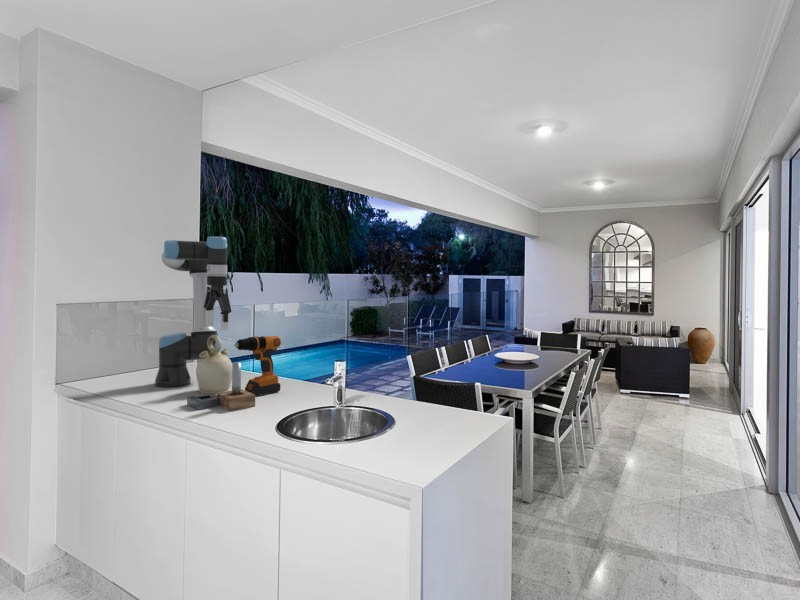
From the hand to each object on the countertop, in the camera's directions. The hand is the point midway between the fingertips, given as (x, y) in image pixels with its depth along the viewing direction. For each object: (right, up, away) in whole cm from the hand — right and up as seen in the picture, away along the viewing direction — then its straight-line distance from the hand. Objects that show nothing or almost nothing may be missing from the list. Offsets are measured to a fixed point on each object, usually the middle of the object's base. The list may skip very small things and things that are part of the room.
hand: (217, 328), depth 196 cm
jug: (-8, -29, +19) cm, 35 cm away
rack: (+10, -30, -6) cm, 32 cm away
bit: (+10, -29, -6) cm, 31 cm away
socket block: (-2, -30, -6) cm, 31 cm away
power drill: (+12, -29, +14) cm, 35 cm away
